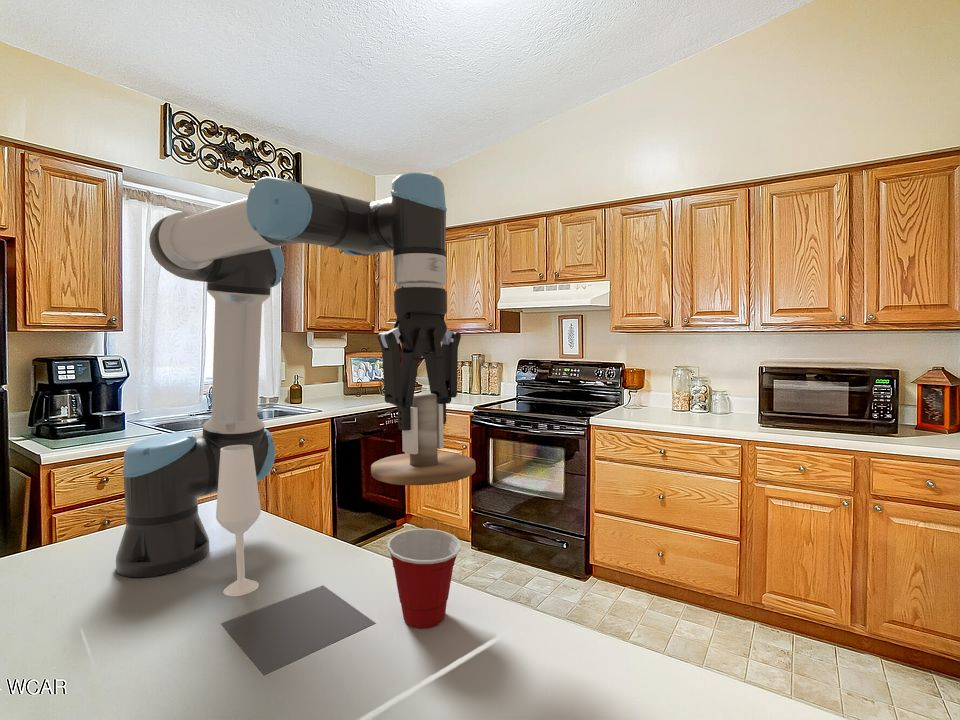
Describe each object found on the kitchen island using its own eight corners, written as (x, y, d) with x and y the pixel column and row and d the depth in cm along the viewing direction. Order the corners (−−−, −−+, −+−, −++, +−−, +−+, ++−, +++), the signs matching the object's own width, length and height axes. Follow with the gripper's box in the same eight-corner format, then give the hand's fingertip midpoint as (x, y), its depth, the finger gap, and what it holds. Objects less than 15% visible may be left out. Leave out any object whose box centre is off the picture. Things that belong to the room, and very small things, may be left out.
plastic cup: (436, 651, 68) (435, 563, 67) (372, 630, 73) (371, 548, 72) (475, 612, 78) (474, 534, 77) (416, 595, 83) (415, 522, 82)
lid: (351, 471, 74) (349, 395, 74) (432, 453, 85) (430, 387, 84) (413, 492, 64) (411, 404, 63) (497, 469, 74) (496, 394, 73)
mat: (220, 626, 74) (220, 623, 74) (323, 588, 85) (323, 585, 85) (264, 678, 63) (264, 674, 63) (375, 626, 74) (375, 623, 74)
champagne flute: (263, 577, 89) (258, 441, 88) (263, 595, 83) (258, 449, 82) (220, 585, 87) (215, 445, 86) (217, 604, 80) (211, 453, 79)
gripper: (384, 281, 64) (388, 465, 65) (481, 289, 76) (483, 444, 77) (353, 286, 70) (357, 455, 71) (448, 292, 82) (450, 437, 83)
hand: (423, 449), depth 74 cm, fingers closed on lid, 4 cm apart
